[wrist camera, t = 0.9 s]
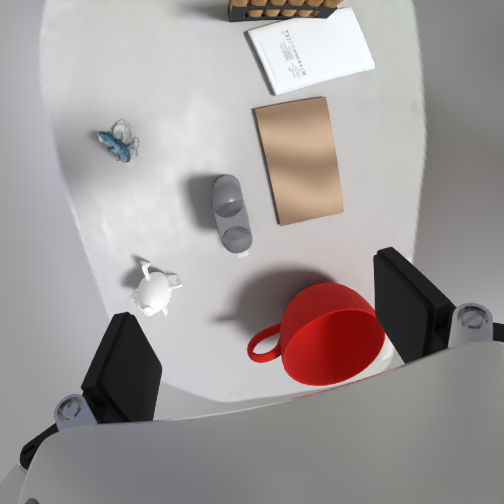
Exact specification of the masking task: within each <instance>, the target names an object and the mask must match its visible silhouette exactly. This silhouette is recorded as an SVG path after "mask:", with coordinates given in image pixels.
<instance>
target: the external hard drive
mask: <svg viewBox="0 0 504 504" xmlns="http://www.w3.org/2000/svg"><path fill="white" fill-rule="evenodd" d="M308 17H315V16H313V15H312V14H310V15H309V16H308ZM248 34H249V37H250V39H251V41H252V43H253V45H254V48H255V50H256V52H257V54H258V57H259V58H260V60H261V62H262V65H263V67H264V71H265V73H266V75H267V78H268V80H269V82H270V85H271V87H272V90H273V92H274V95H275V96H277V95H280V94H283V93H286V92H289V91H293V90H296V89H299V88H302V87H305V86H309V85H312V84H316V83H319V82H323V81H326V80H330V79H334V78H338V77H341V76H345V75H349V74H353V73H357V72H362V71H366V70H370V69H375V65H374V62H373V59H372V56H371V54H370V51H369V48H368V46H367V43H366V41H365V38H364V36H363V34H362V31H361V29H360V26H359V24H358V22H357V19H356V17H355V15H354V13H353V11H352V9H351V8H350V7H349V8H342V9H337V10H336V11H335V12H334V13H333V14H331V15H330V16H329V17H328V18H327V19H320V18H292V19H288V20H284V21H280V22H276V23H273V24H269V25H266V26H262V27H259V28H256V29H252V30H249V31H248Z"/></svg>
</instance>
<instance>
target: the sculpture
mask: <svg viewBox="0 0 504 504" xmlns="http://www.w3.org/2000/svg"><path fill="white" fill-rule="evenodd" d="M130 129H131V126H130V125H129V123H128V122H127V121H125V120H124V119H122V120H120V121H118V123H117V124H116V125H115V126H114V128H113V134H114V137H115V138H114V137H113V136H112V133H111V132H109V131H106V132H107V133H106V132H105V131H101V132H98V133H96V134H97V135H98V140H99V141H100V142H103V143H105V144H107V145H108V146H109V147H108V148H107V149H106V150H107V151H108V152H110V151H112V153H113V154H114V155H115V156H116V157H117V161H120V160H121V161H123V162H129V161H130V159H133V158H135V157H137V156H138V151H137V149H138V147H139V141H140V140H139V138H137V137H135V138H134V139H132V137H131V135H132V133H131V131H130Z"/></svg>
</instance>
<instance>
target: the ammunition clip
mask: <svg viewBox="0 0 504 504" xmlns="http://www.w3.org/2000/svg"><path fill="white" fill-rule="evenodd" d="M342 1H343V0H249V2H248V0H230V1H229V6H228V14H229V22H242V21H259V20H288V19H292V18H320V19H327V18H328V17H329V16H330V15H331V14H333V13H334V12H335V11H336V10H337V7H336V6H337V5H338V4H340V3H341V2H342ZM310 14H312V15H313V16H315V17H308V16H309V15H310Z"/></svg>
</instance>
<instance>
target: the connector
mask: <svg viewBox="0 0 504 504" xmlns="http://www.w3.org/2000/svg"><path fill="white" fill-rule="evenodd" d="M212 208H213V212H214V215H215V219H216V222H217V225H218V229H219V232H220V236H221V239H222V242H223V245H224V247H225V248H226V249H227V250H228V251H230V252H232V253H237V254H238V258H240V257H245V256H249V253H248V249H249V247H250V246H251V244H252V235H251V229H250V224H249V219H248V215H247V211H246V207H245V203H244V199H243V195H242V191H241V187H240V183H239V181H238V179H237V178H236V177H234V176H232V175H222V176H220V177H219V178H218V179H217V180H216V181H215V184H214V189H213V195H212Z"/></svg>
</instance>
